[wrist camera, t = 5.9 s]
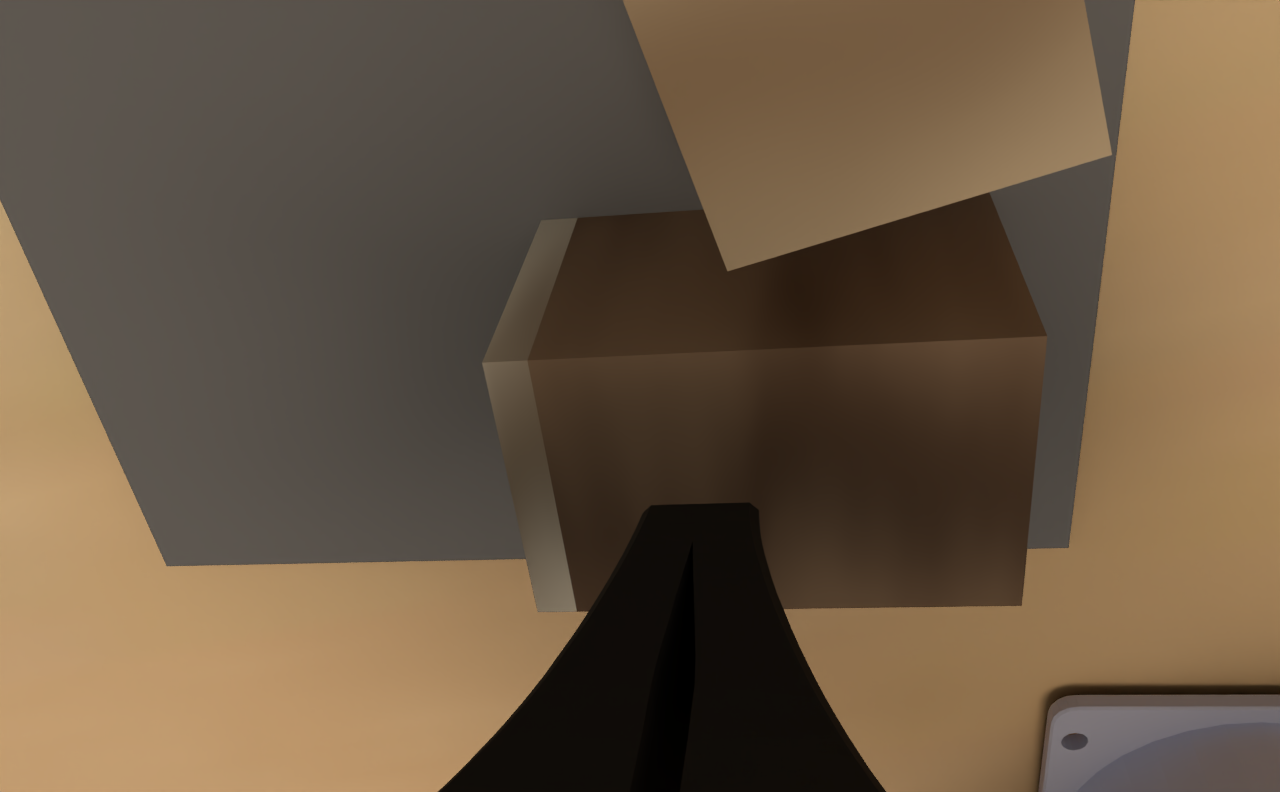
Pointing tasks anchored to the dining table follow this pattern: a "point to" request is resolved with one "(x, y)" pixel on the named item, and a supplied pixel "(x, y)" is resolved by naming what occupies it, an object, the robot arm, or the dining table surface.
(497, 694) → the dining table surface
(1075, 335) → the felt mat
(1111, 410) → the dining table surface
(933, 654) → the dining table surface
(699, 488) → the walnut block
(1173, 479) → the dining table surface
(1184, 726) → the robot arm
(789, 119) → the oak cube
